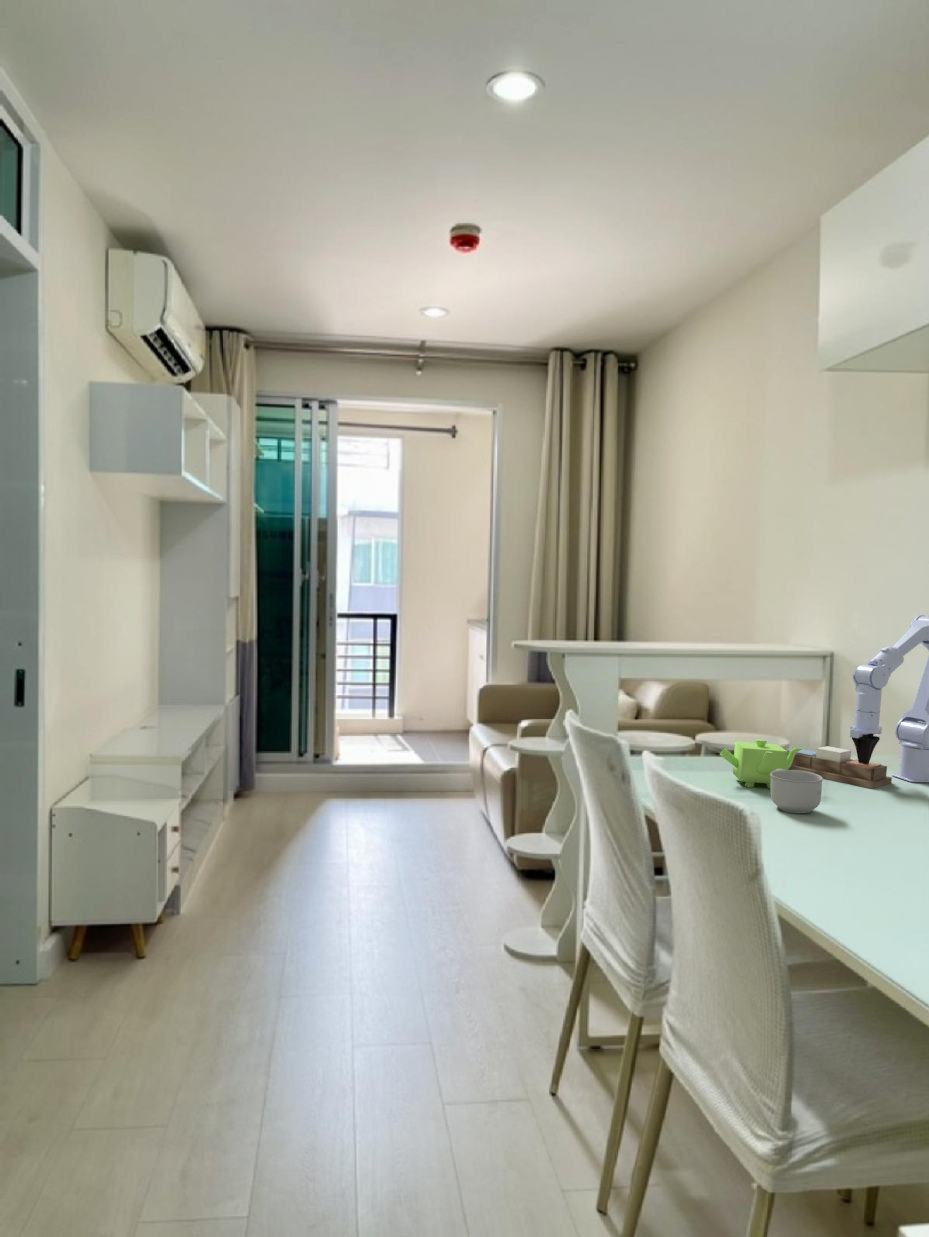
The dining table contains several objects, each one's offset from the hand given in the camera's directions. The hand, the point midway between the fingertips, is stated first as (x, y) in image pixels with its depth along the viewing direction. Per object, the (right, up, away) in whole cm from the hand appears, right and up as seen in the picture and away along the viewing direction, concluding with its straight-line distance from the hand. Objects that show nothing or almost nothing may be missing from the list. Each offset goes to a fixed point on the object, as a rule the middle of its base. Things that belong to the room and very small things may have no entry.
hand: (863, 763), depth 227 cm
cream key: (-5, 0, +6) cm, 8 cm away
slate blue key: (-11, -2, +12) cm, 16 cm away
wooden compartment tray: (-6, -4, +6) cm, 9 cm away
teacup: (-31, -5, -32) cm, 45 cm away
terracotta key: (0, -3, 0) cm, 3 cm away
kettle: (-31, -4, -11) cm, 33 cm away
